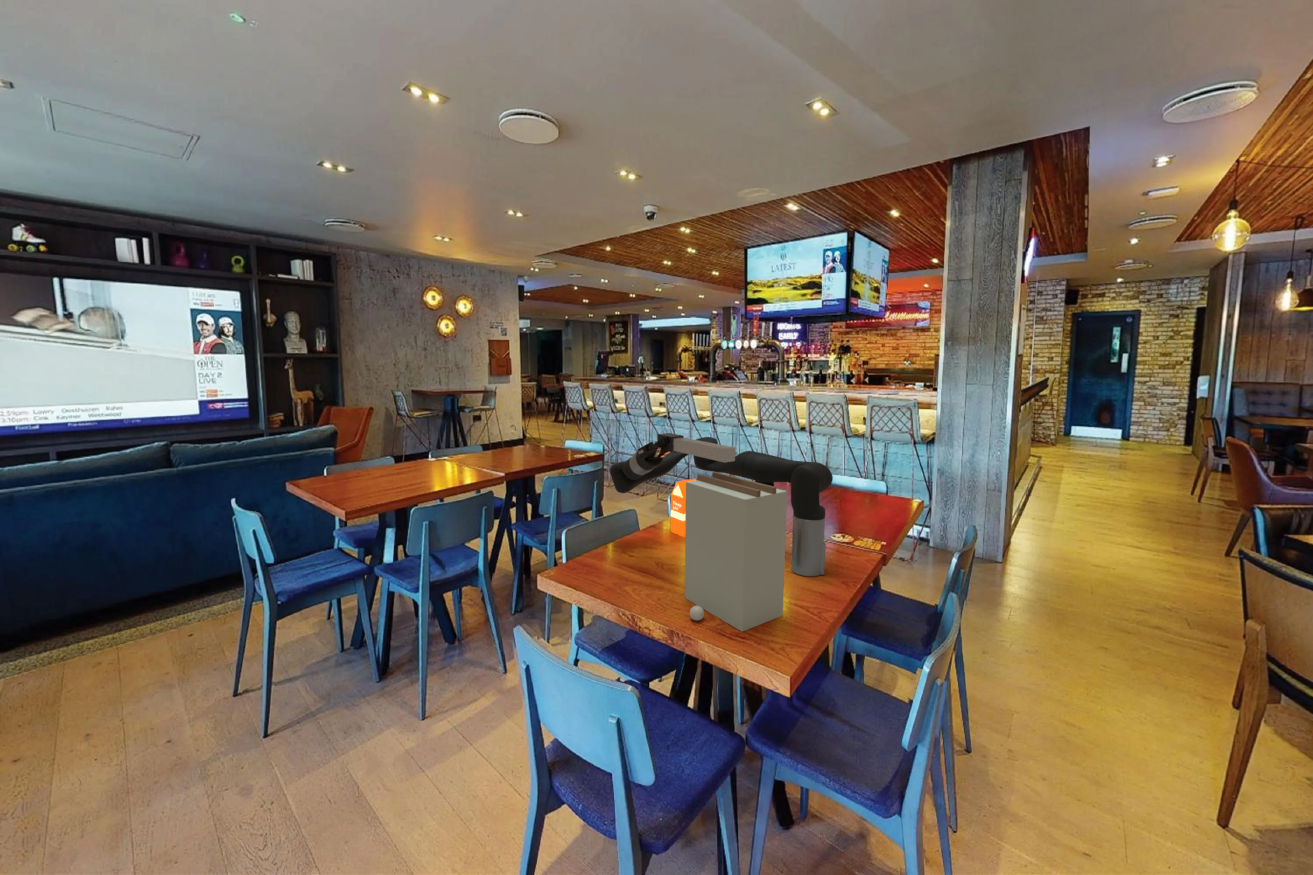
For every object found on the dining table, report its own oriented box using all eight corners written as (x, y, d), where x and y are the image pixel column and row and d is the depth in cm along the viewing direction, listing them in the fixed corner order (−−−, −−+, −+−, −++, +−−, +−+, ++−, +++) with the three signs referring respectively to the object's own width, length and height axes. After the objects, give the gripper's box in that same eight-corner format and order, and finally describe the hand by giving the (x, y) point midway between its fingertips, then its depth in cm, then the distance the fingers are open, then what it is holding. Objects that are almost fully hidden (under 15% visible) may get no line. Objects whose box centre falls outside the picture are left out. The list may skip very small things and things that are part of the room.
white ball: (703, 616, 131) (704, 603, 131) (703, 623, 128) (704, 609, 127) (689, 615, 131) (690, 602, 131) (689, 622, 128) (689, 609, 128)
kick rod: (657, 448, 155) (657, 434, 155) (669, 447, 158) (669, 433, 157) (723, 464, 132) (723, 447, 131) (736, 462, 134) (736, 445, 134)
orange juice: (701, 532, 196) (702, 480, 194) (683, 537, 191) (683, 483, 189) (689, 527, 203) (689, 476, 200) (670, 531, 198) (670, 479, 195)
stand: (683, 596, 142) (684, 475, 138) (722, 584, 150) (724, 469, 145) (742, 631, 124) (745, 493, 119) (782, 615, 132) (787, 485, 127)
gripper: (623, 450, 162) (650, 428, 149) (660, 446, 170) (689, 424, 157) (629, 473, 160) (657, 452, 147) (667, 468, 168) (697, 448, 155)
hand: (673, 438), depth 152 cm, fingers closed on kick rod, 4 cm apart
